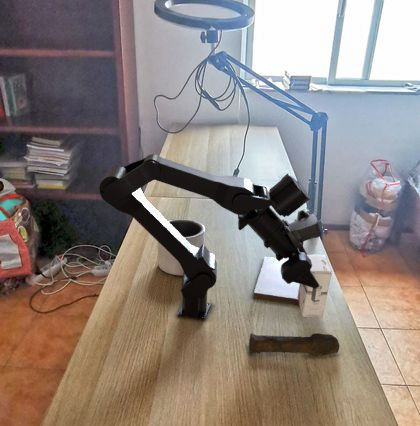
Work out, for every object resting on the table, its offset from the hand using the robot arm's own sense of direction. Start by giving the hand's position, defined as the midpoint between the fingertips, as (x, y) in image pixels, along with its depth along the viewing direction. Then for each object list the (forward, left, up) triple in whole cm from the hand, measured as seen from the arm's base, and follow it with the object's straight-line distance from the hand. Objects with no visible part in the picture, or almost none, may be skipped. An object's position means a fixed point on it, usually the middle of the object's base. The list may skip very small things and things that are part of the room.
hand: (314, 276), depth 109 cm
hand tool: (-14, +2, -11) cm, 18 cm away
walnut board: (+14, +8, -10) cm, 19 cm away
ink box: (0, 0, -8) cm, 9 cm away
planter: (+15, +35, -11) cm, 40 cm away
